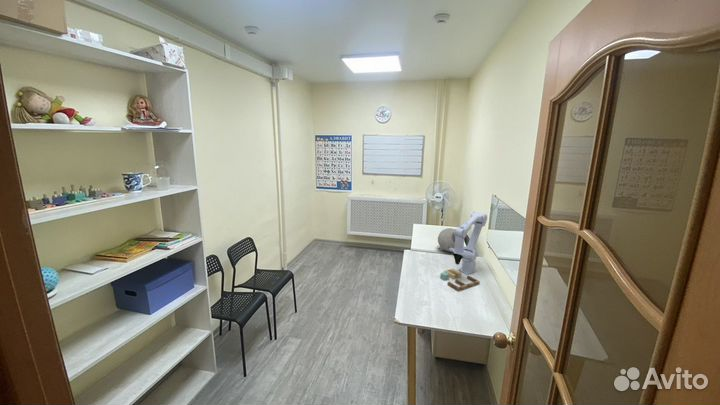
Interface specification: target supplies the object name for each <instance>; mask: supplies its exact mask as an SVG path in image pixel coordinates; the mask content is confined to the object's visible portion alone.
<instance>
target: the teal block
mask: <svg viewBox="0 0 720 405" xmlns="http://www.w3.org/2000/svg"><path fill="white" fill-rule="evenodd" d="M440 279H441V280H442V281H444V282H445V281H448V280H449V279H450V277H449V274H448V273H446V272H445V271H444V272H440Z"/></svg>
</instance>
